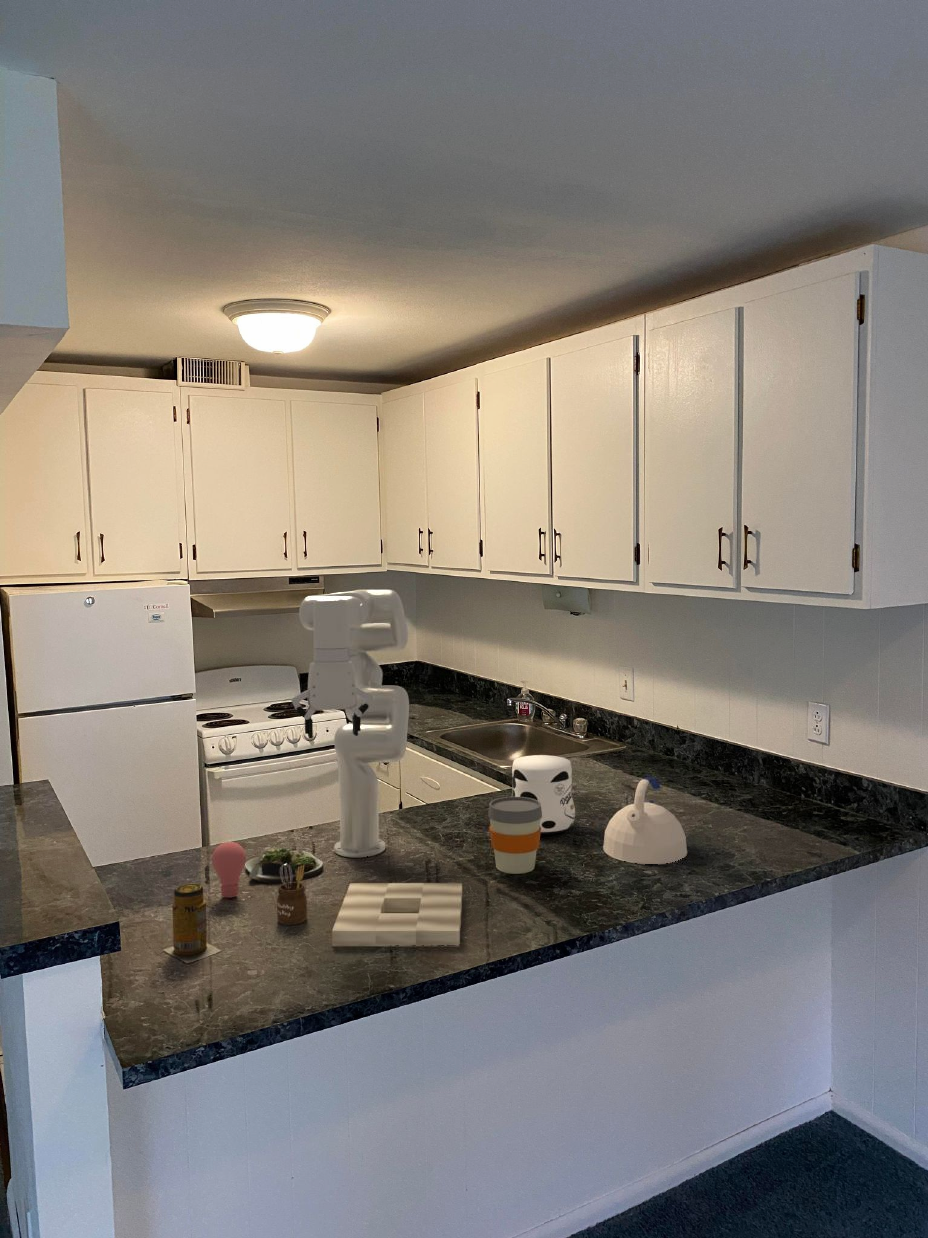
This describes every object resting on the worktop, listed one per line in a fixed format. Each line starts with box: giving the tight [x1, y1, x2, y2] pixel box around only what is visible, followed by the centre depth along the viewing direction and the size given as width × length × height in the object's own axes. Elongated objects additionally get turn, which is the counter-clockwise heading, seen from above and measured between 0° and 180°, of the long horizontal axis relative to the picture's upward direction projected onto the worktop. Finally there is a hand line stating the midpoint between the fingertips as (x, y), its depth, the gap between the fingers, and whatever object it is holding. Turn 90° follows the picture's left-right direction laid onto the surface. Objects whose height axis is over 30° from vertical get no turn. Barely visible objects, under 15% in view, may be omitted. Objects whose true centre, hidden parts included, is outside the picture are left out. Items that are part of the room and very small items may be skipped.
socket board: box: [331, 882, 463, 947], centre depth 185 cm, size 24×24×3 cm
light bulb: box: [211, 841, 247, 899], centre depth 198 cm, size 7×7×12 cm
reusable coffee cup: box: [487, 796, 542, 875], centre depth 214 cm, size 13×12×15 cm
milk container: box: [511, 754, 576, 835], centre depth 242 cm, size 17×17×18 cm
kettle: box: [602, 776, 688, 865], centre depth 224 cm, size 20×21×18 cm
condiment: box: [163, 883, 222, 964], centre depth 172 cm, size 7×8×12 cm
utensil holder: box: [276, 864, 308, 926], centre depth 185 cm, size 6×6×12 cm
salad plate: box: [244, 847, 324, 884], centre depth 215 cm, size 19×18×5 cm
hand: (332, 735), depth 197 cm, fingers open, 9 cm apart
